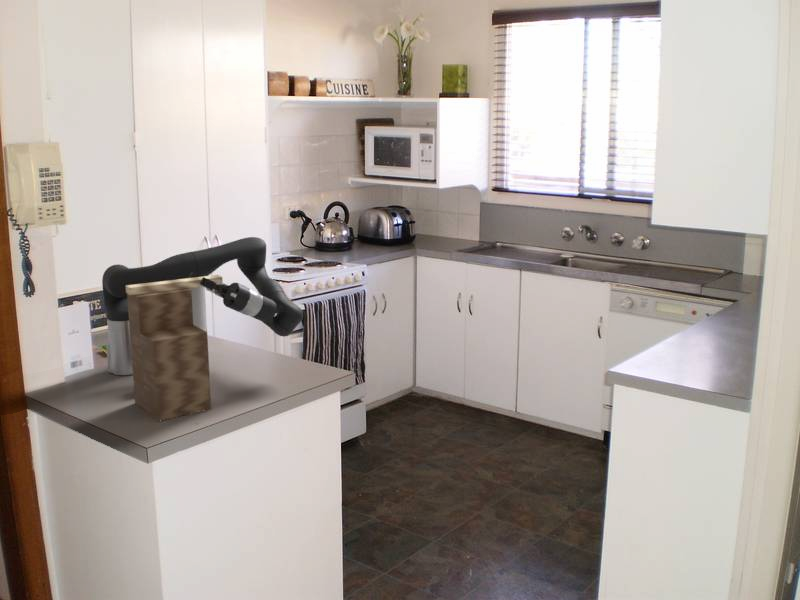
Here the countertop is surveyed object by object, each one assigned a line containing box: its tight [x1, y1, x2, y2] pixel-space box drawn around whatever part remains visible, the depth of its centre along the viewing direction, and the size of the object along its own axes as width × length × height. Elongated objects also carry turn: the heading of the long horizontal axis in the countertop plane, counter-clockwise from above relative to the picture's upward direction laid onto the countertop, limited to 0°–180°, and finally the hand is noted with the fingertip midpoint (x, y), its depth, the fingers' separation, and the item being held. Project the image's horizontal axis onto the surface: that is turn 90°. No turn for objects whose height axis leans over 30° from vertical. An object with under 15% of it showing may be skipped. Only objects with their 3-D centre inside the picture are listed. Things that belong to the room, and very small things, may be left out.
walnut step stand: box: [127, 288, 212, 422], centre depth 232 cm, size 15×17×32 cm
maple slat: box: [126, 274, 223, 295], centre depth 235 cm, size 26×4×2 cm, turn 123°
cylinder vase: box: [189, 286, 208, 333], centre depth 281 cm, size 12×12×25 cm
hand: (195, 278), depth 238 cm, fingers open, 7 cm apart
